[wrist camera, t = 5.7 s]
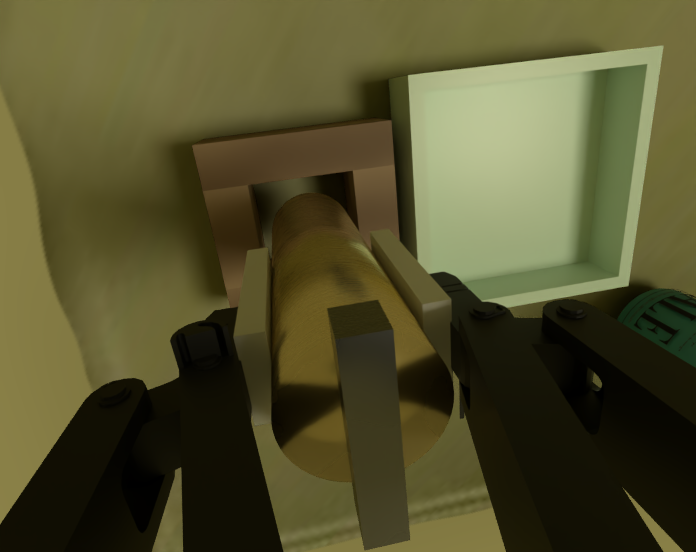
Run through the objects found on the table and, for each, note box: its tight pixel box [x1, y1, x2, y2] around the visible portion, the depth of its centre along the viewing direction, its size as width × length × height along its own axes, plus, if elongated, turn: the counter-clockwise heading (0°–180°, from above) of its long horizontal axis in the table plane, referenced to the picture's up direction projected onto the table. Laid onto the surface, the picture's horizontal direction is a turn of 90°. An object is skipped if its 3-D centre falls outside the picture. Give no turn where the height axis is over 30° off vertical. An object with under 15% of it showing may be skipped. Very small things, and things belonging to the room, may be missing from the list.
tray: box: [388, 46, 663, 308], centre depth 27 cm, size 14×14×4 cm
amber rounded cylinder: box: [271, 193, 454, 550], centre depth 15 cm, size 5×4×15 cm
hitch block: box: [192, 118, 400, 308], centre depth 26 cm, size 10×10×4 cm
